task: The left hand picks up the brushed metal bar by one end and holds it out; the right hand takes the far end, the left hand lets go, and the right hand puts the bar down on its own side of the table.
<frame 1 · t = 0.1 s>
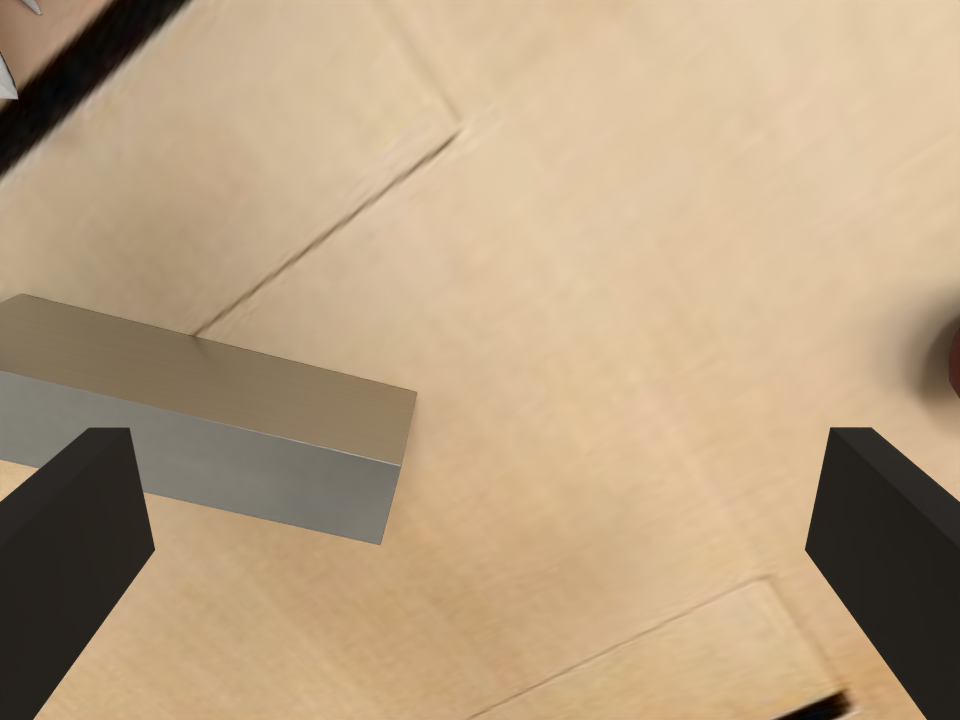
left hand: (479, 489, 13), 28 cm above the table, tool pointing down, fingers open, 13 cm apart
bar: (219, 380, 42), on the table
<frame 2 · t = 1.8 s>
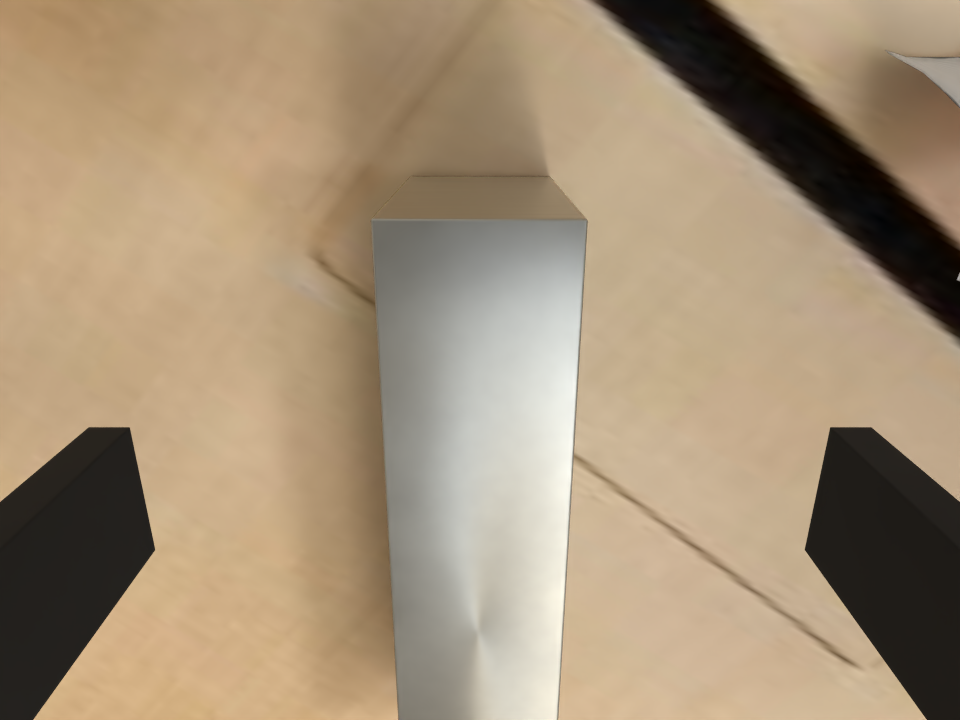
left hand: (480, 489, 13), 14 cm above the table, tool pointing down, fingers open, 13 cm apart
bar: (479, 472, 29), on the table
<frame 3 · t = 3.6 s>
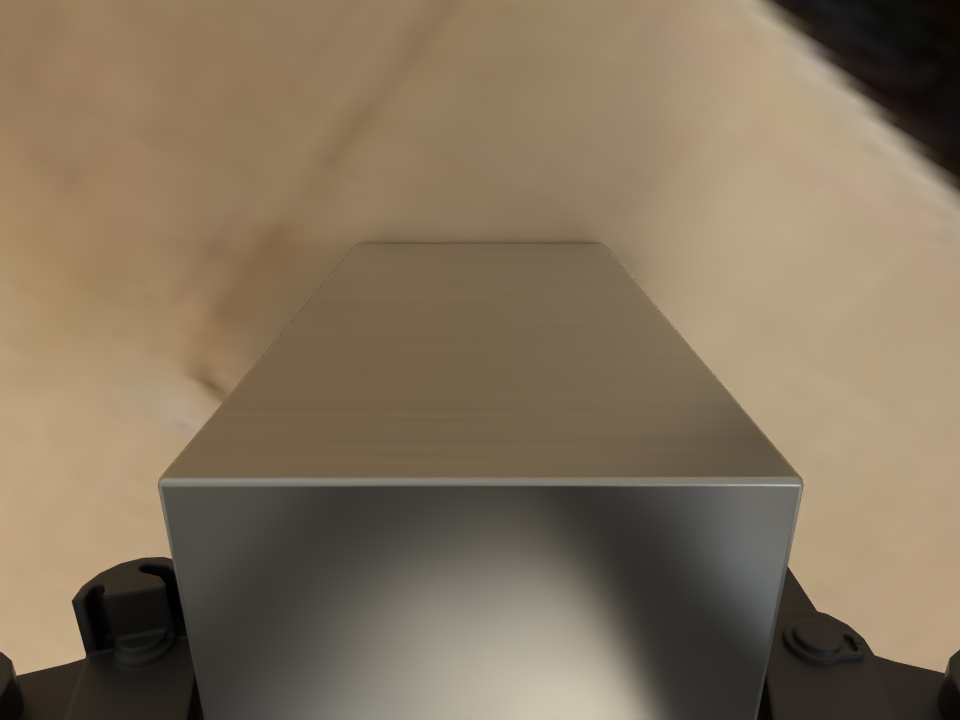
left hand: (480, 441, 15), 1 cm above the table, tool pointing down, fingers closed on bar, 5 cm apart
bar: (479, 692, 18), on the table, touching left hand
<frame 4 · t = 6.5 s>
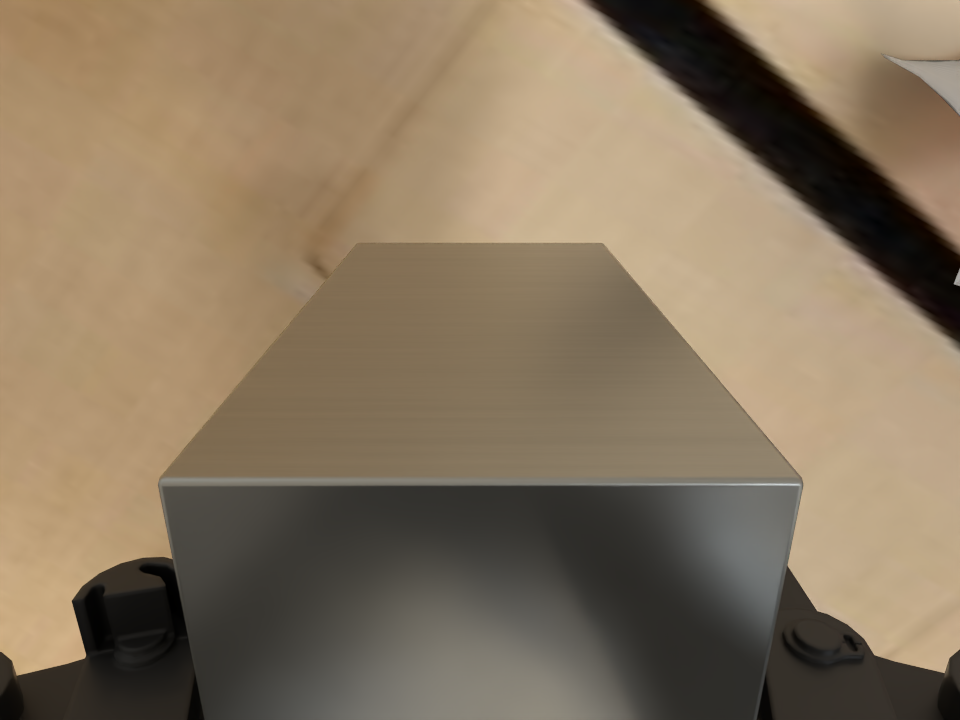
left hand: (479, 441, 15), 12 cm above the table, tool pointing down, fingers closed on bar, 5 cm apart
bar: (480, 692, 18), point 11 cm above the table, touching left hand
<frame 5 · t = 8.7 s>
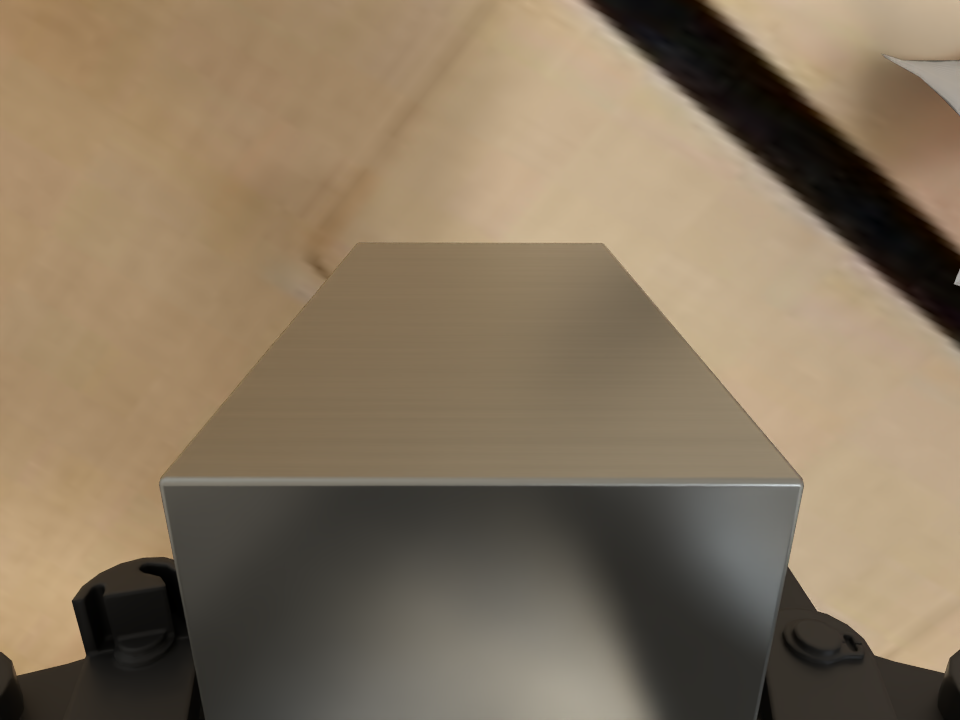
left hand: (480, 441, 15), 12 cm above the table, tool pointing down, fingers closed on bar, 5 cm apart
bar: (479, 692, 18), point 11 cm above the table, touching left hand, right hand
when the left hand's fingers open (12 cm above the table, at t = 9.3 s): bar stays where it is, held by the right hand.
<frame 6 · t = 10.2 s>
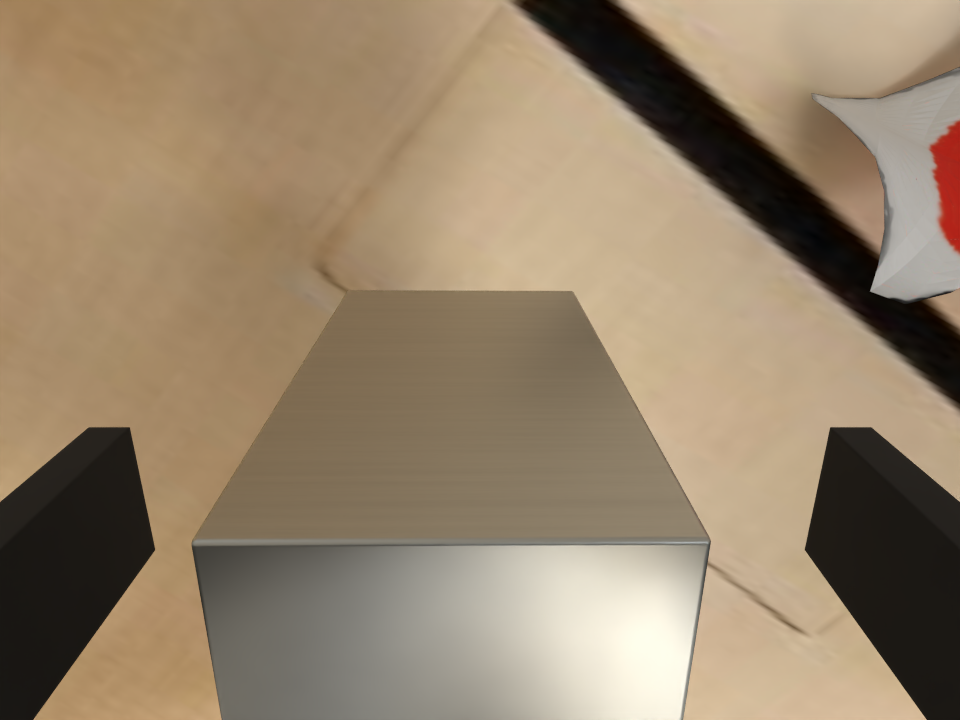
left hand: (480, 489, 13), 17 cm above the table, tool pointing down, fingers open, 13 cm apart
bar: (461, 700, 19), point 14 cm above the table, touching right hand
fish: (937, 193, 28), on the table
when the right hand's fingers open (2 cm above the table, at t = 13.0 s): bar stays where it is, on the table.
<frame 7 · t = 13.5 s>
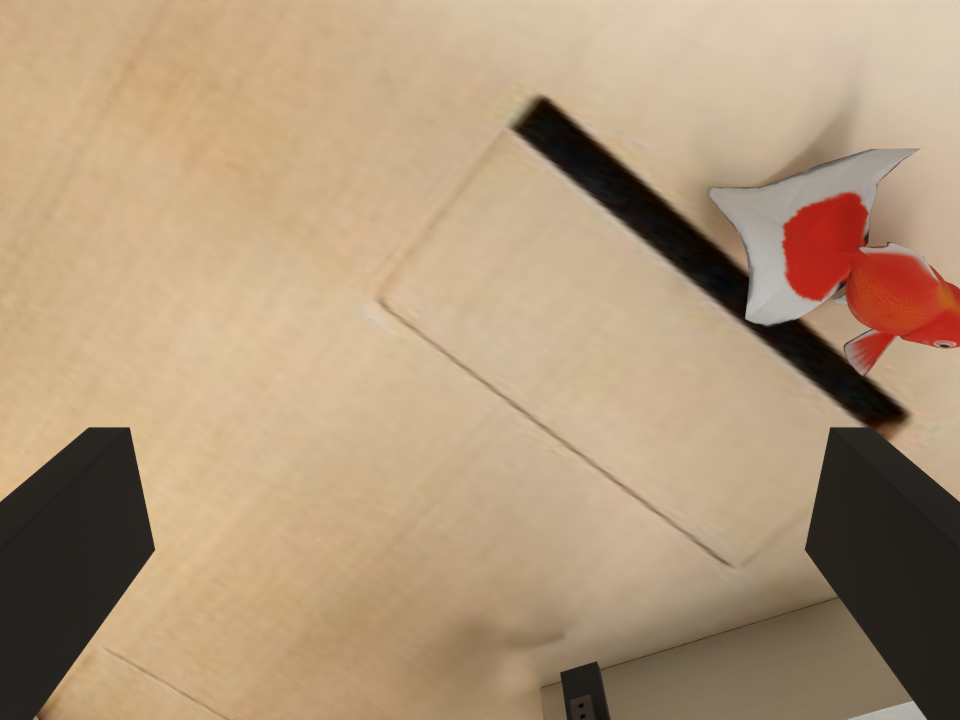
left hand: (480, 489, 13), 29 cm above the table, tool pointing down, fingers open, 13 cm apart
bar: (699, 666, 52), on the table
fish: (803, 249, 40), on the table
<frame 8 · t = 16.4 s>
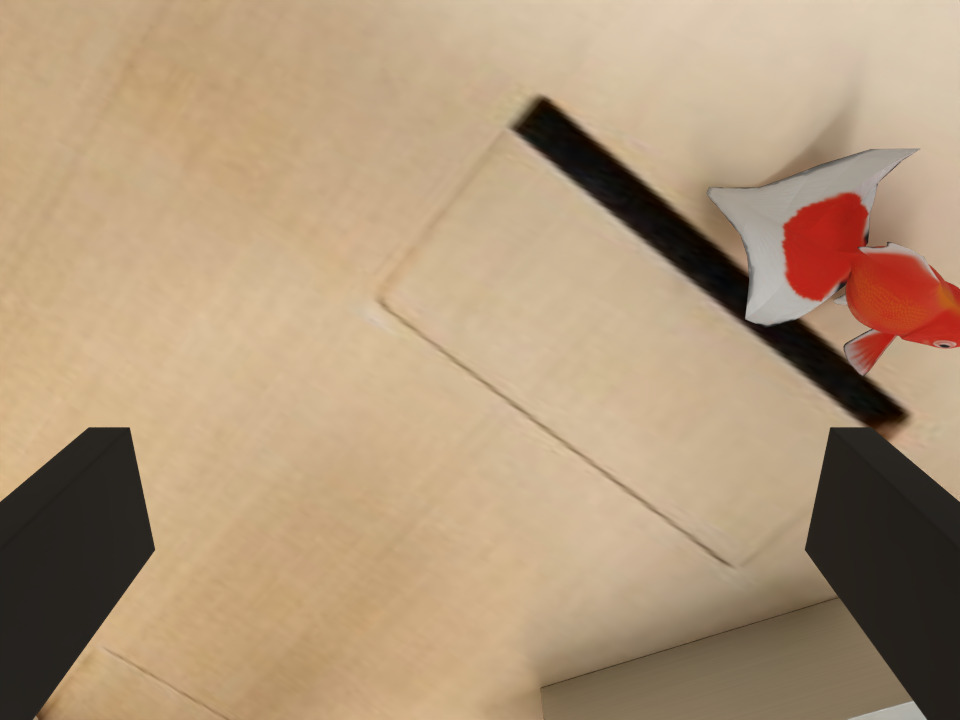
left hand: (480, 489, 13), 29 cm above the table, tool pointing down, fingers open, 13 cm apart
bar: (699, 666, 52), on the table
fish: (803, 249, 40), on the table
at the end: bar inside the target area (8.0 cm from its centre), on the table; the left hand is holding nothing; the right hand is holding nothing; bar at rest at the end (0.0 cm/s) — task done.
